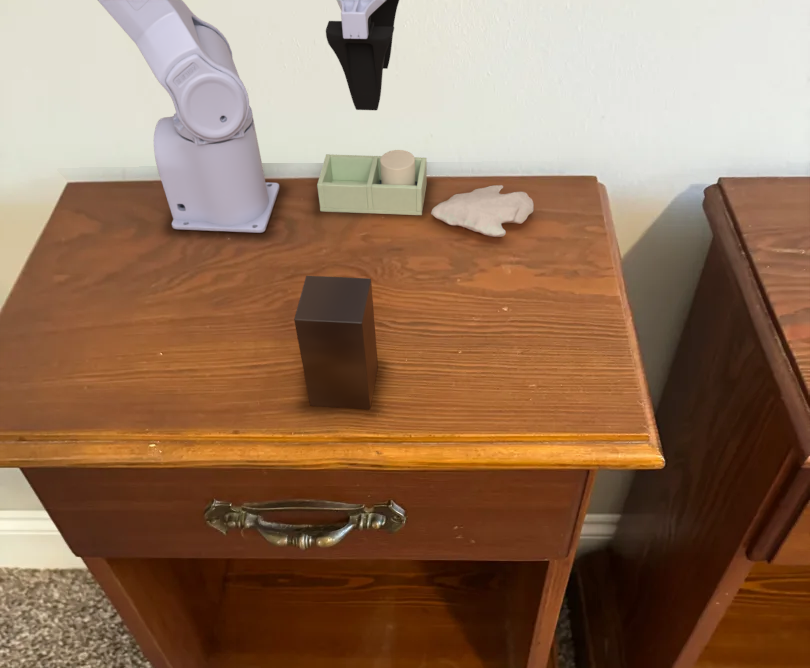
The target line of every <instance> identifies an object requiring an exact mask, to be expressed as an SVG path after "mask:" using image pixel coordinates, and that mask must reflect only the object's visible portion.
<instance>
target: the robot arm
mask: <svg viewBox="0 0 810 668" xmlns="http://www.w3.org/2000/svg"><path fill="white" fill-rule="evenodd" d="M97 1H98V3H99V4H100V5H101V6H102V7H103V8H104V9H105V11H106V12H107V13H108V14H109V15H110V16H111V18H112V19H113V20H114V21H115V22H116V23H117V24H118V25H119V26H120V28H121V29H122V30H123V31H124V33H126V35H127V36H128V37H129V38H130V39H131V41H133V42H134V44H135V45H136V47H137V48H138V50H139V52H140V53H141V55H142V57H143V58H144V60H145V62H146V63H147V65H148V67H149V68H150V70H151V72H152V73H153V75H154V77H155V78H156V80H157V82H158V83H159V84H160V85H161V86H162V87H163V88H164V90H165V91H166V92H167V94H168V95H169V96H170V98H171V100H172V103H173V107H174V109H175V113H173V115H172V116H166V117H161V118H160V119H158V121H157V122H156V125H155V129H154V133H153V152H154V153H153V154H154V158H155V163H156V164H155V165H156V168H157V171H158V174H159V178H160V181H161V185H162V187H163V191H164V195H165V197H166V201H167V204H168V207H169V210H170V214H171V218H172V221H171V227H172V229H173V230H181V231H182V230H184V231H185V230H186V231H209V232H231V233H232V232H233V233H257V234H261V233H264V232H265V231H266V230H267V227H268V224H269V221H270V218H271V215H272V212H273V210H274V206H275V203H276V200H277V197H278V195H279V191H280V184H279V183H278V182H268V181H267V182H266V178H265V171H264V167H263V162H262V155H261V152H260V146H259V141H258V135H257V131H256V126H255V120H254V115H253V109H252V107H251V105H250V98H249V94H248V91H247V88H246V86H245V84H244V82H243V80H242V79H241V77H240V75H239V73H238V70H237V67H236V65H235V61H234V59H233V52H232V49H231V45H230V44H229V42H228V39H227V38H226V37H225V35H224V34H223V33H222V32H221V31H220V30H219V29H218V28H217V27H215V26H214V25H213V24H210V23H209V22H207V21H205V20H203V19H201V18H199V17H198V16H197V15H196V14H195V13H194V12H193V11H192V10H191V9H190V8H189V7H188V5H187V4H186V2H185V1H184V0H97ZM336 2H337V4H338V6H339V9H340V18H341V20H328V22H327V25H326V28H325V38H326V40H327V44H328V45H329V47H330V48H331V50H332V51H333V52H334V54H335V56H336V58H337V60H338V62H339V64H340V66H341V69H342V70H343V71H342V72H343V73H344V76H345V80H346V84H347V87H348V90H349V94H350V97H351V100H352V103H353V106H354V108H355V110H356V111H378V110H379V105H380V101H381V96H382V86H383V85H382V84H383V73H384V69H385V70H386V69H387V70H388V68H389V64H390V60H391V54H392V46H393V37H394V31H395V20H396V15H397V11H398V6H399V2H400V0H336Z"/></svg>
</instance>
